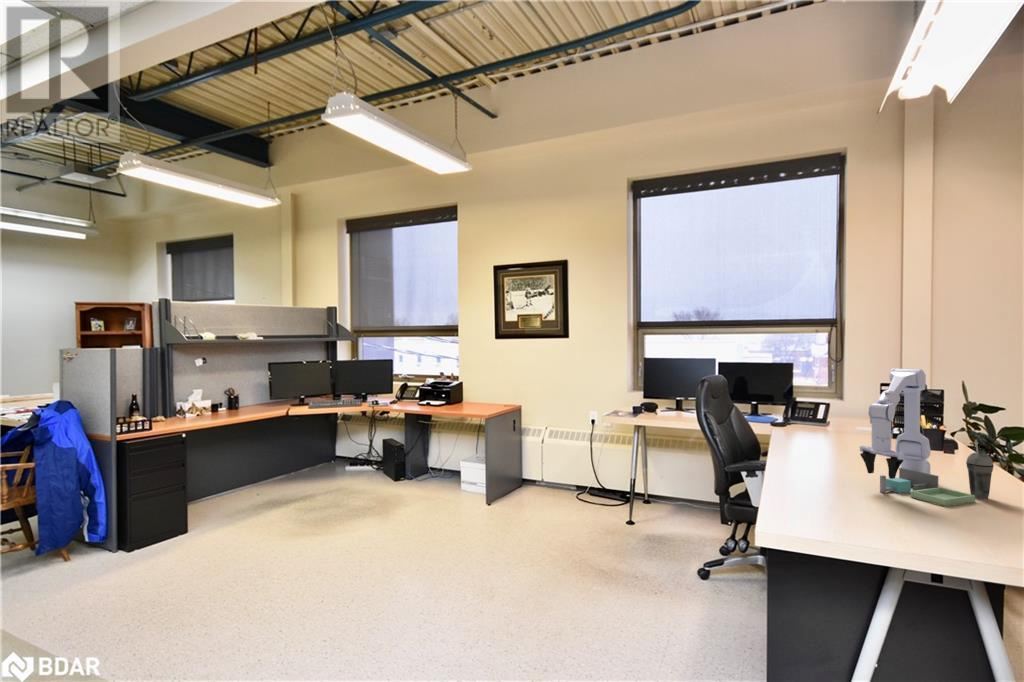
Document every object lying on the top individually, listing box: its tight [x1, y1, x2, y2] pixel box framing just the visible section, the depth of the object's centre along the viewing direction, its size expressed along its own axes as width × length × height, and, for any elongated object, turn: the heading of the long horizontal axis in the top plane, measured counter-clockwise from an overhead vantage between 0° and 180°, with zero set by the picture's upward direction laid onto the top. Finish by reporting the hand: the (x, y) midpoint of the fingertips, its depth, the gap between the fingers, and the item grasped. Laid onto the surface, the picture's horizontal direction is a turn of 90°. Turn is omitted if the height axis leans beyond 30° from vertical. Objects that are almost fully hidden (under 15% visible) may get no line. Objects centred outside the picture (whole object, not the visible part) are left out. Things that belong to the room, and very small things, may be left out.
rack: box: [898, 467, 939, 491], centre depth 192 cm, size 8×13×6 cm, turn 19°
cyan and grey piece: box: [879, 474, 912, 494], centre depth 188 cm, size 11×4×6 cm, turn 108°
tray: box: [910, 486, 976, 507], centre depth 179 cm, size 15×11×2 cm
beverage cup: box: [965, 439, 995, 500], centre depth 181 cm, size 7×7×20 cm
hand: (881, 475), depth 187 cm, fingers open, 7 cm apart
